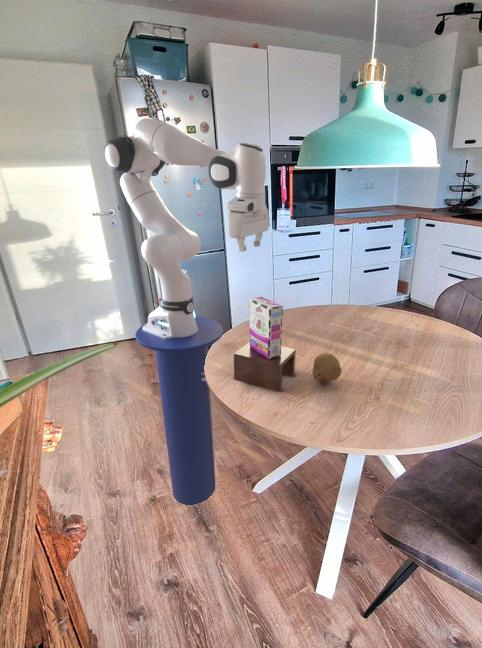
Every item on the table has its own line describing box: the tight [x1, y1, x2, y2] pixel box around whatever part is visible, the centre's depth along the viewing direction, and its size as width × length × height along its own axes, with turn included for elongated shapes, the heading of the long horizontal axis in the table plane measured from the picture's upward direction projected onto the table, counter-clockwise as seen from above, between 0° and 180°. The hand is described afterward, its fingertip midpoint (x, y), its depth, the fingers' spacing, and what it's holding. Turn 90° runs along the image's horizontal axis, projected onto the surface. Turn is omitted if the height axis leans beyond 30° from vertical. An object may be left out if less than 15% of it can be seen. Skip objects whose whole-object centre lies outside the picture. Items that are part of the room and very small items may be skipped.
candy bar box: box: [249, 296, 283, 359], centre depth 119 cm, size 11×5×16 cm, turn 38°
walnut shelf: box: [233, 341, 297, 393], centre depth 125 cm, size 16×12×9 cm
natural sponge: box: [311, 352, 343, 383], centre depth 123 cm, size 9×9×10 cm
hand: (250, 248), depth 124 cm, fingers open, 8 cm apart
